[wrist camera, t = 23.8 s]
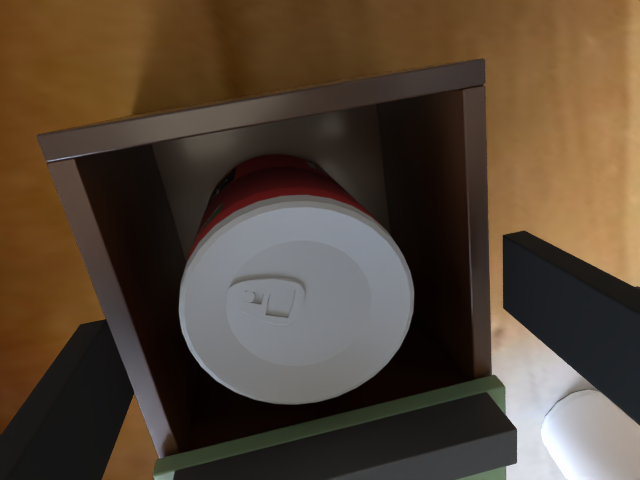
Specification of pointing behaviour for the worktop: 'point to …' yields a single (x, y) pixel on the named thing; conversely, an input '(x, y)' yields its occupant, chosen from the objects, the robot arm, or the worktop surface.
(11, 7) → the worktop surface
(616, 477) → the foam cup
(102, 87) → the worktop surface
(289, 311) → the canned food
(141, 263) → the storage box
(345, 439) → the sliding lid
